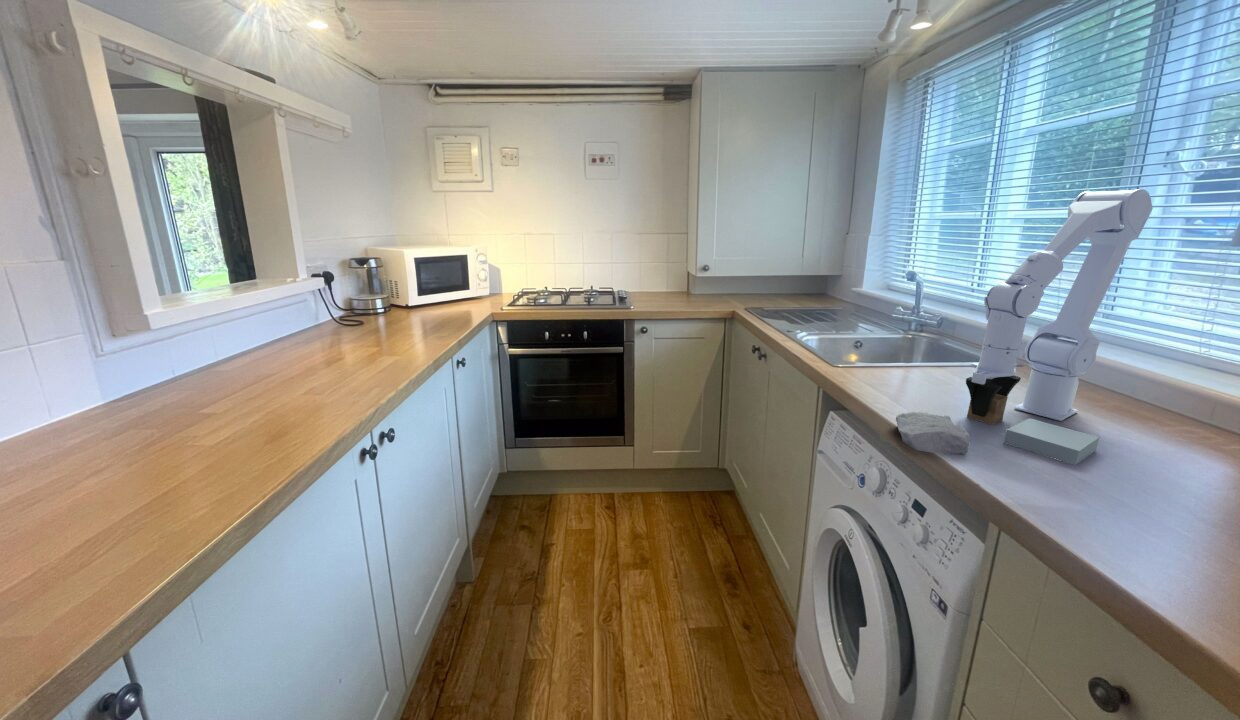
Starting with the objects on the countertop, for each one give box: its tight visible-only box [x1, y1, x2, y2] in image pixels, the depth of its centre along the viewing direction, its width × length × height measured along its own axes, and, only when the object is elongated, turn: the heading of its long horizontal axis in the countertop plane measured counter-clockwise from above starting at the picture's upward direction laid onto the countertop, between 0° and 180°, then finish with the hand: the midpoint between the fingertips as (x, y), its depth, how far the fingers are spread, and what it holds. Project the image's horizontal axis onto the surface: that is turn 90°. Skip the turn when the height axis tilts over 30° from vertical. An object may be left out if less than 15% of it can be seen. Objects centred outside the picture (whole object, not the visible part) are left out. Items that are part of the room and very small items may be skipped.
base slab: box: [1003, 417, 1100, 466], centre depth 88 cm, size 10×10×3 cm
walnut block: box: [966, 394, 1009, 425], centre depth 99 cm, size 4×4×5 cm
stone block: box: [895, 411, 971, 456], centre depth 90 cm, size 12×5×10 cm
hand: (985, 411), depth 100 cm, fingers open, 6 cm apart
